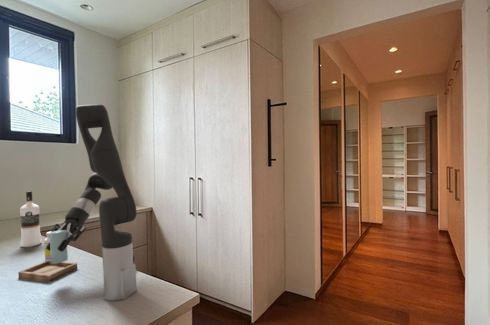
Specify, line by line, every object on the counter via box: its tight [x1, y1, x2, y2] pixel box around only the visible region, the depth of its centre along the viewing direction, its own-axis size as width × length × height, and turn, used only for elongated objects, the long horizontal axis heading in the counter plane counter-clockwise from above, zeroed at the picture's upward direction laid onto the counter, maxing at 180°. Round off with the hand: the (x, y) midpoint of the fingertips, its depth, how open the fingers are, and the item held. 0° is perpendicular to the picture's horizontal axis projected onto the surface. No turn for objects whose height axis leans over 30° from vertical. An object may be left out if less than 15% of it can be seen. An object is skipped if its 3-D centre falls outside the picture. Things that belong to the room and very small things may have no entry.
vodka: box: [19, 190, 43, 248], centre depth 143 cm, size 9×9×30 cm
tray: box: [18, 260, 78, 283], centre depth 106 cm, size 16×12×2 cm
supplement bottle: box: [43, 230, 52, 261], centre depth 122 cm, size 7×7×13 cm
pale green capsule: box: [49, 230, 69, 263], centre depth 97 cm, size 5×5×11 cm
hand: (54, 250), depth 96 cm, fingers closed on pale green capsule, 5 cm apart
